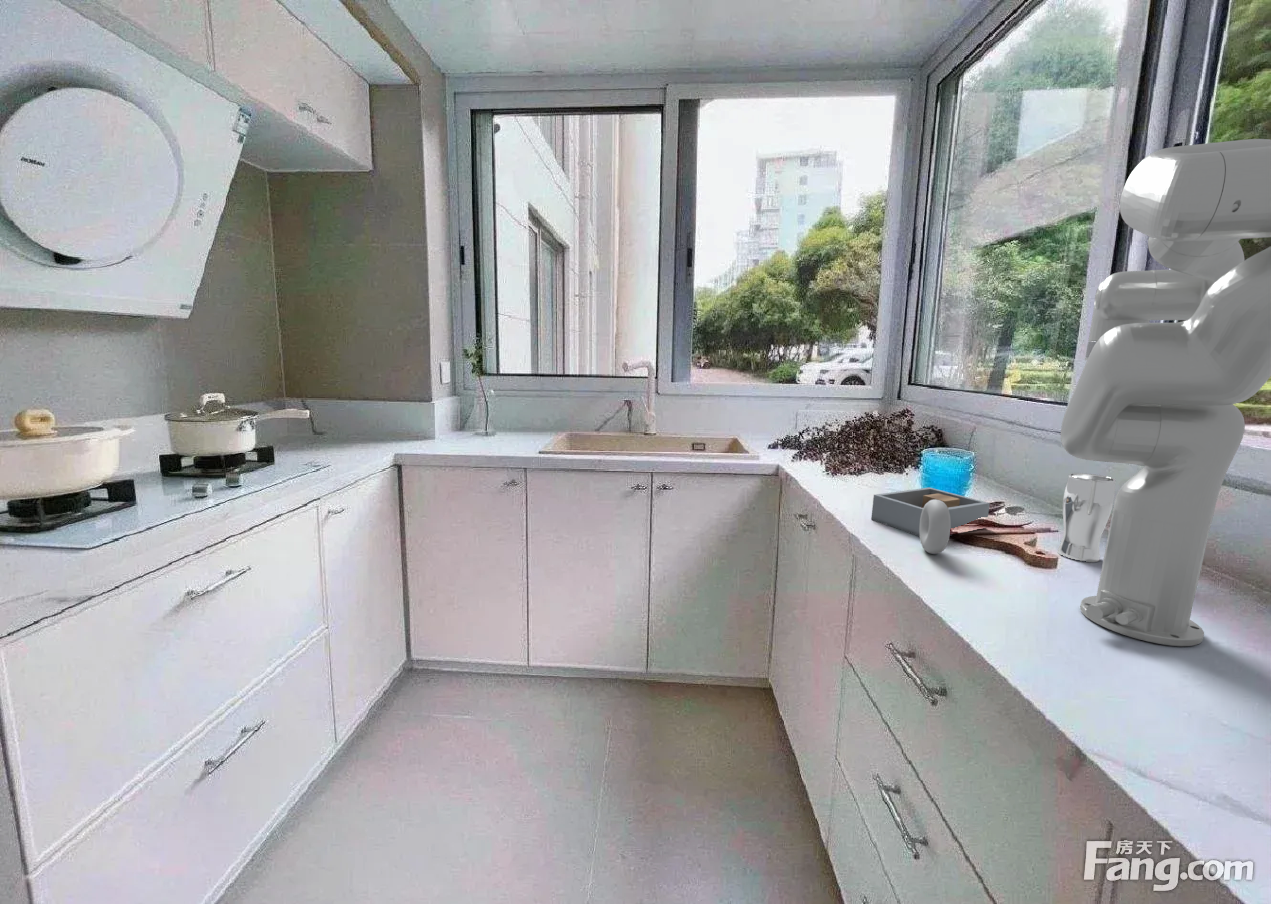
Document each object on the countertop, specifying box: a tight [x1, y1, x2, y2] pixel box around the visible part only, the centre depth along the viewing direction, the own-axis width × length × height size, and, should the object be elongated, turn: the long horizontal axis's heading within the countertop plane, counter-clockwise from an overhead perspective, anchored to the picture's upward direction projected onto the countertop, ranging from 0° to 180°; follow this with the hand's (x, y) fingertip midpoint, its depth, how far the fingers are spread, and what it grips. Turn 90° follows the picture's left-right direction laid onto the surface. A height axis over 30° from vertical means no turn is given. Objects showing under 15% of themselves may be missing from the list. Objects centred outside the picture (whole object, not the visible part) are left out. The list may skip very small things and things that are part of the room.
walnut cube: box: [922, 493, 960, 508], centre depth 120 cm, size 5×5×5 cm
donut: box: [919, 499, 951, 555], centre depth 101 cm, size 10×4×10 cm, turn 165°
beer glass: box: [1057, 472, 1117, 563], centre depth 100 cm, size 7×7×15 cm
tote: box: [870, 486, 991, 537], centre depth 118 cm, size 18×14×6 cm
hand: (1096, 450), depth 98 cm, fingers open, 9 cm apart
